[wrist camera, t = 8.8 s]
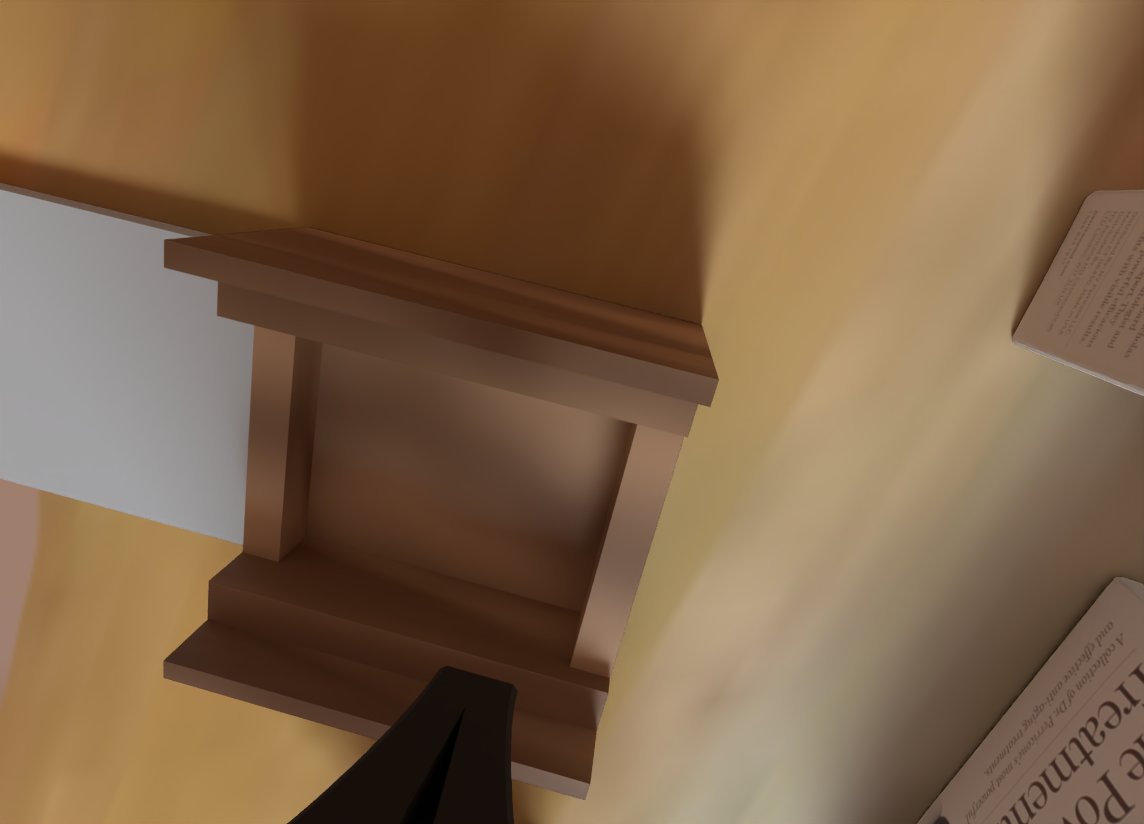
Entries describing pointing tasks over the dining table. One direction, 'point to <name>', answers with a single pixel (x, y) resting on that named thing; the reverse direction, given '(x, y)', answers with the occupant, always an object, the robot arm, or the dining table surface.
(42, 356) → the lid
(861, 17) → the dining table surface
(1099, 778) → the skincare box
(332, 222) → the dining table surface
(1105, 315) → the skincare box
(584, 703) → the case
